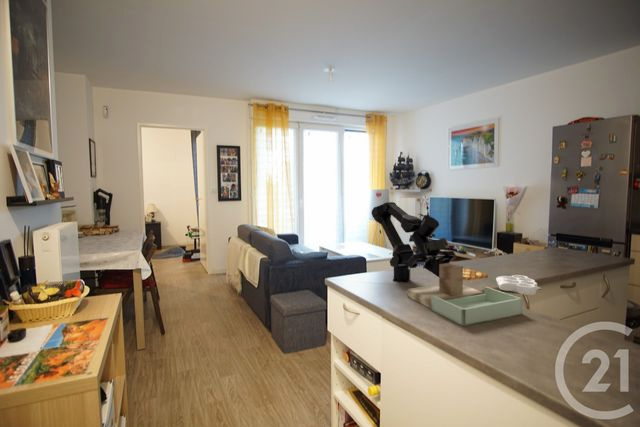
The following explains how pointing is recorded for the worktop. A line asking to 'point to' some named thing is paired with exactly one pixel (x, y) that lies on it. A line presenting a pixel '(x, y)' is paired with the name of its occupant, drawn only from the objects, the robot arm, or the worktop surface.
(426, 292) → the bench plate
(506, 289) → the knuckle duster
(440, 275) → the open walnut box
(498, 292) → the box
